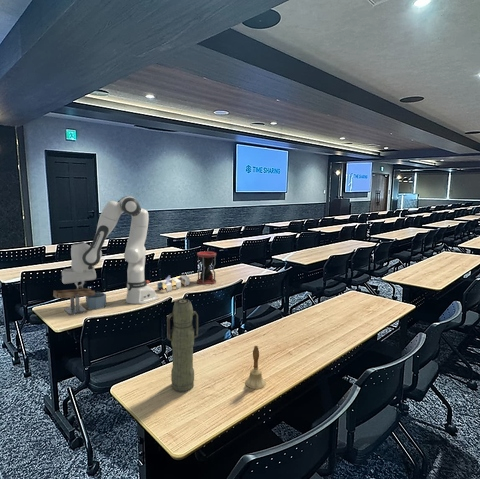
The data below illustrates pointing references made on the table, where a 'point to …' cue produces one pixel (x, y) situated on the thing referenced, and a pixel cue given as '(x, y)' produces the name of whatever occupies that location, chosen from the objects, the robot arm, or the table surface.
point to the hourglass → (206, 267)
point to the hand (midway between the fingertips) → (79, 288)
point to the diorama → (173, 282)
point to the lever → (73, 293)
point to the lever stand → (73, 308)
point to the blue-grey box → (96, 301)
